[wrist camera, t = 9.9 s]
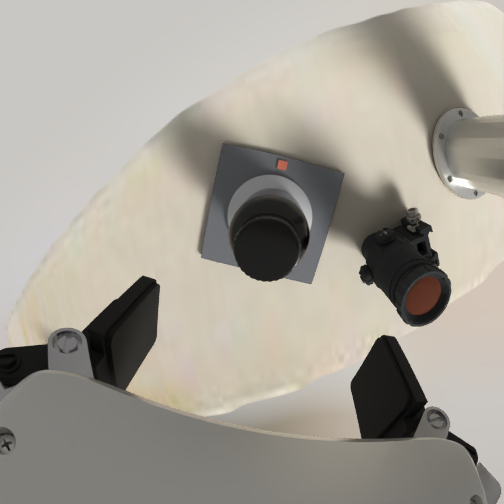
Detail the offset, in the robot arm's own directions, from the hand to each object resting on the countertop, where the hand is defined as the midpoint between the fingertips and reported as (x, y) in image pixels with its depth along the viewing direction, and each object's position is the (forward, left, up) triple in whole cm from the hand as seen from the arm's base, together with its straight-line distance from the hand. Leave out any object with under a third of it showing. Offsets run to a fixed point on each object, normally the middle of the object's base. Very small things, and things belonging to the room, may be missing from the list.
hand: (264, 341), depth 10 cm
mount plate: (+1, 0, -23) cm, 23 cm away
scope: (-14, 0, -23) cm, 27 cm away
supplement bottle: (0, -1, -21) cm, 21 cm away
